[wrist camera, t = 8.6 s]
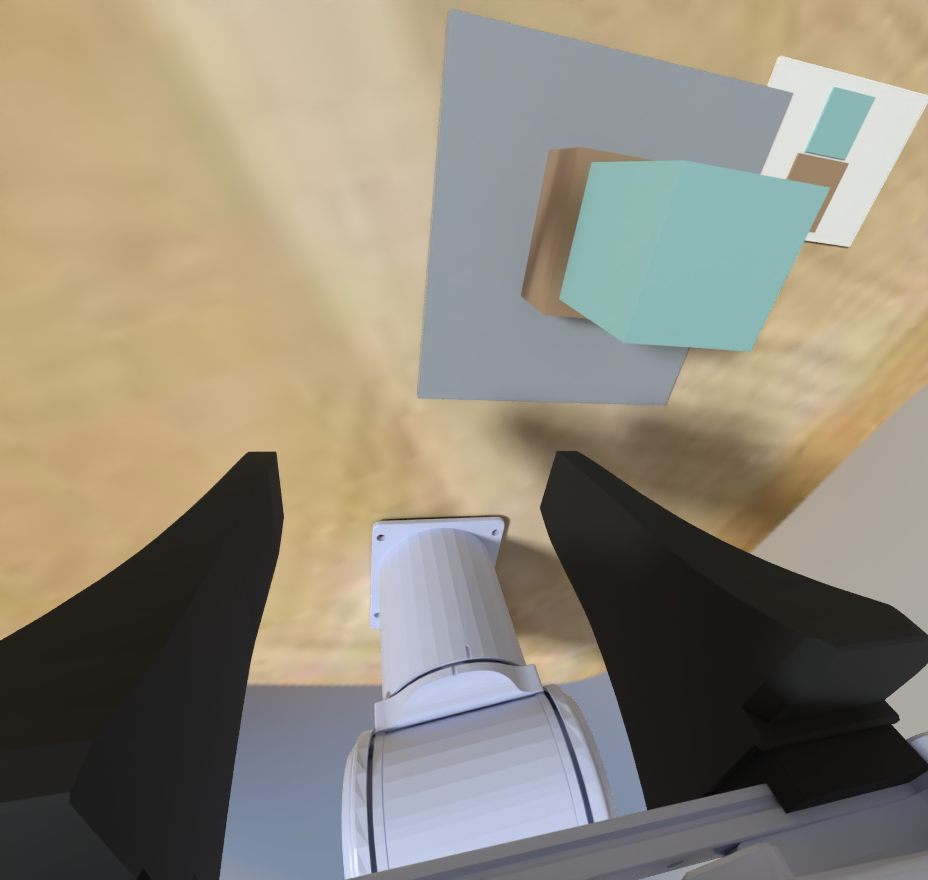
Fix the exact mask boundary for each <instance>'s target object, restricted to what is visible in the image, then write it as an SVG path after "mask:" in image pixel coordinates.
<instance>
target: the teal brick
mask: <svg viewBox="0 0 928 880" xmlns="http://www.w3.org/2000/svg"><path fill="white" fill-rule="evenodd" d="M829 190H830V187H824V186H819V185H814V184H808V183H803V182H797V181H792V180H787V179H781V178H776V177H771V176H765V175H760V174H755V173H749V172H744V171H738V170H733V169H728V168H722V167H717V166H712V165H706V164H701V163H695V162H690V161H685V160H678V161H626V162H592V163H591V167H590V171H589V175H588V180H587V184H586V188H585V192H584V196H583V201H582V205H581V209H580V213H579V218H578V222H577V226H576V230H575V234H574V239H573V243H572V247H571V251H570V256H569V260H568V264H567V268H566V272H565V277H564V281H563V285H562V289H561V293H560V298H559V299H560V300H561V301H563V302H564V303H565V304H567V305H568V306H570V307H571V308H573V309H574V310H576V311H577V312H579V313H580V314H582V315H583V316H585V317H586V318H588V319H589V320H591V321H592V322H594V323H595V324H597V325H598V326H600V327H601V328H603V329H604V330H606V331H607V332H608V333H610V334H611V335H613V336H614V337H616V338H617V339H619V340H620V341H622V342H623V343H632V344H646V345H661V346H676V347H691V348H705V349H720V350H735V351H751V349H752V347H753V345H754V343H755V341H756V339H757V337H758V335H759V333H760V331H761V329H762V327H763V325H764V323H765V321H766V319H767V316H768V314H769V312H770V310H771V308H772V306H773V304H774V302H775V300H776V298H777V296H778V294H779V292H780V290H781V288H782V286H783V284H784V282H785V280H786V278H787V276H788V274H789V271H790V269H791V267H792V265H793V263H794V261H795V259H796V257H797V255H798V253H799V251H800V249H801V247H802V245H803V243H804V241H805V239H806V237H807V235H808V233H809V231H810V229H811V226H812V224H813V222H814V220H815V218H816V216H817V214H818V212H819V210H820V208H821V206H822V204H823V202H824V200H825V198H826V196H827V194H828V192H829Z"/></svg>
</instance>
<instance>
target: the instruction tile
mask: <svg viewBox="0 0 928 880" xmlns="http://www.w3.org/2000/svg"><path fill="white" fill-rule="evenodd" d="M767 87H771V88H775V89H779V90H783V91H788V92H792V93H793V96H792V98H791V101H790V103H789V105H788V108H787V110H786V113H785V115H784V118H783V120H782V122H781V125H780V127H779V130H778V132H777V135H776V137H775V140H774V142H773V144H772V147H771V149H770V152H769V154H768V157H767V159H766V161H765V164H764V166H763V169H762V171H761V174H760V175H765V176H771V177H776V178H781V179H787V180H792V181H797V182H803V183H808V184H814V185H819V186H824V187H830V190H829V192H828V194H827V196H826V198H825V200H824V202H823V204H822V206H821V208H820V210H819V212H818V214H817V216H816V218H815V220H814V222H813V224H812V226H811V229H810V231H809V233H808V235H807V237H806V239H805V240H806V241H813V242H819V243H826V244H833V245H840V246H847V247H850V245H851V244H852V242H853V240H854V238H855V236H856V234H857V232H858V231H859V229H860V227H861V225H862V223H863V221H864V220H865V218H866V216H867V214H868V212H869V210H870V208H871V207H872V205H873V203H874V201H875V199H876V197H877V195H878V194H879V192H880V190H881V188H882V186H883V184H884V183H885V181H886V179H887V177H888V175H889V173H890V171H891V170H892V168H893V166H894V164H895V162H896V160H897V159H898V157H899V155H900V153H901V151H902V149H903V147H904V146H905V144H906V142H907V140H908V138H909V136H910V135H911V133H912V131H913V129H914V127H915V125H916V123H917V122H918V120H919V118H920V116H921V114H922V112H923V111H924V109H925V107H926V105H927V103H928V95H925V94H922V93H918V92H914V91H911V90H907V89H903V88H899V87H896V86H892V85H888V84H884V83H881V82H877V81H873V80H870V79H866V78H862V77H858V76H855V75H851V74H847V73H844V72H840V71H836V70H832V69H829V68H825V67H821V66H818V65H814V64H810V63H806V62H803V61H799V60H795V59H791V58H788V57H784V56H780V57H778V58H777V61H776V64H775V66H774V69H773V72H772V74H771V77H770V79H769V82H768V85H767Z"/></svg>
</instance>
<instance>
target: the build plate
mask: <svg viewBox="0 0 928 880" xmlns="http://www.w3.org/2000/svg"><path fill="white" fill-rule="evenodd" d="M792 96H793V93H792V92H788V91H783V90H779V89H775V88H771V87H767V86H763V85H759V84H755V83H751V82H747V81H743V80H739V79H735V78H731V77H726V76H722V75H718V74H714V73H710V72H706V71H702V70H698V69H694V68H690V67H686V66H682V65H678V64H674V63H669V62H665V61H661V60H657V59H653V58H649V57H645V56H641V55H637V54H633V53H629V52H625V51H621V50H617V49H612V48H608V47H604V46H600V45H596V44H592V43H588V42H584V41H580V40H576V39H572V38H568V37H564V36H560V35H555V34H551V33H547V32H543V31H539V30H535V29H531V28H527V27H523V26H519V25H515V24H511V23H507V22H503V21H499V20H494V19H490V18H486V17H482V16H478V15H474V14H470V13H466V12H462V11H458V10H454V9H449V11H448V18H447V30H446V43H445V55H444V67H443V80H442V92H441V105H440V117H439V129H438V142H437V154H436V166H435V179H434V191H433V204H432V216H431V228H430V241H429V253H428V265H427V278H426V290H425V303H424V315H423V327H422V340H421V352H420V364H419V377H418V389H417V397H418V398H426V399H460V400H493V401H527V402H560V403H594V404H627V405H661V406H665V405H666V402H667V400H668V398H669V395H670V393H671V390H672V388H673V385H674V383H675V381H676V378H677V376H678V373H679V371H680V368H681V366H682V364H683V361H684V359H685V356H686V354H687V351H688V349H689V347H676V346H661V345H646V344H632V343H623V342H622V341H620V340H619V339H617V338H616V337H614V336H613V335H611V334H610V333H608V332H607V331H606V330H604V329H603V328H601V327H600V326H598V325H597V324H595V323H594V322H592V321H591V320H589V319H588V318H575V317H563V316H550V315H543V314H542V313H541V312H540V311H539V310H537V309H536V308H535V307H534V306H532V305H531V304H530V303H529V302H528V301H526V300H525V299H524V298H523V297H521V292H522V287H523V282H524V277H525V271H526V266H527V261H528V256H529V251H530V245H531V240H532V235H533V230H534V224H535V219H536V214H537V209H538V204H539V198H540V193H541V188H542V183H543V177H544V172H545V167H546V162H547V157H548V151H549V150H555V149H566V148H578V147H583V148H589V149H594V150H600V151H605V152H611V153H616V154H622V155H627V156H633V157H638V158H644V159H649V160H655V161H678V160H685V161H690V162H695V163H701V164H706V165H712V166H717V167H722V168H728V169H733V170H738V171H744V172H749V173H755V174H761V171H762V169H763V166H764V164H765V161H766V159H767V157H768V154H769V152H770V149H771V147H772V144H773V142H774V140H775V137H776V135H777V132H778V130H779V127H780V125H781V122H782V120H783V118H784V115H785V113H786V110H787V108H788V105H789V103H790V101H791V98H792Z"/></svg>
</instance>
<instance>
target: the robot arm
mask: <svg viewBox="0 0 928 880" xmlns="http://www.w3.org/2000/svg"><path fill="white" fill-rule="evenodd" d="M540 510H541V513H542V516H543V520H544V523H545V526H546V529H547V532H548V535H549V538H550V541H551V543H552V545H553V547H554V549H555V551H556V553H557V555H558V558H559V560H560V562H561V564H562V566H563V568H564V570H565V572H566V574H567V576H568V578H569V580H570V582H571V584H572V586H573V588H574V590H575V592H576V594H577V596H578V598H579V600H580V602H581V605H582V607H583V609H584V611H585V613H586V615H587V618H588V620H589V622H590V624H591V627H592V630H593V632H594V635H595V638H596V641H597V643H598V646H599V649H600V651H601V654H602V657H603V660H604V662H605V665H606V668H607V671H608V674H609V677H610V680H611V683H612V686H613V689H614V692H615V695H616V698H617V701H618V705H619V708H620V711H621V715H622V718H623V722H624V725H625V728H626V731H627V735H628V738H629V741H630V745H631V749H632V752H633V756H634V760H635V764H636V768H637V771H638V775H639V779H640V783H641V786H642V790H643V794H644V799H645V803H646V807H647V811H643V812H639V813H634V814H630V815H625V816H621V817H617V815H616V810H615V805H614V801H613V796H612V792H611V789H610V785H609V781H608V778H607V775H606V771H605V768H604V765H603V762H602V759H601V756H600V753H599V750H598V748H597V745H596V742H595V740H594V737H593V735H592V732H591V730H590V728H589V726H588V724H587V721H586V719H585V717H584V715H583V713H582V711H581V710H580V708H579V706H578V705H577V703H576V702H575V701H574V699H572V697H570V696H569V695H568V694H566V693H565V692H564V691H562V689H561V688H560V687H558V686H557V685H555V684H551V685H547V686H543V687H542V684H541V681H540V678H539V675H538V673H537V670H536V667H535V665H534V664H531V665H526V663H525V660H524V657H523V654H522V651H521V648H520V645H519V641H518V638H517V635H516V632H515V629H514V626H513V623H512V620H511V617H510V614H509V611H508V608H507V605H506V602H505V599H504V596H503V593H502V590H501V587H500V584H499V581H498V578H497V575H496V571H495V565H496V561H497V556H498V552H499V548H500V544H501V539H502V535H503V531H504V527H505V523H504V521H503V519H502V518H501V517H476V518H449V519H421V520H393V521H378V522H376V523H375V524H374V525H373V528H372V564H371V600H370V626H371V627H372V628H374V629H380V635H381V661H382V687H383V701H380V702H376V703H375V729H372V730H368V731H365V732H363V733H361V734H360V736H359V738H358V739H357V743H356V744H355V746H354V748H353V749H352V751H351V752H350V754H349V756H348V760H347V763H346V768H345V774H344V783H343V796H342V847H343V862H344V873H345V880H639V879H642V878H646V877H650V876H654V875H657V874H661V873H665V872H668V871H672V870H676V869H679V868H683V867H687V866H690V865H694V864H698V863H702V862H705V861H709V860H712V859H716V858H720V857H722V858H720V859H718V860H716V861H713V862H711V863H708V864H706V865H703V866H701V867H699V868H696V869H694V870H691V871H689V872H687V873H686V874H685V876H684V877H683V879H682V880H928V732H924V733H921V734H918V735H915V736H913V737H911V738H909V739H907V740H905V739H904V738H903V737H902V735H901V734H900V733H899V732H898V731H897V730H896V729H895V728H894V727H893V726H892V725H891V724H895V723H897V722H898V721H899V720H900V719H899V715H898V714H897V713H896V712H895V711H894V710H893V709H892V708H891V707H890V706H889V705H888V703H887V702H886V701H885V699H886V698H887V697H889V696H890V695H891V694H892V693H894V692H895V691H896V690H897V689H899V688H900V687H901V686H902V685H904V684H905V683H906V682H907V681H908V680H910V679H911V678H912V677H913V676H915V675H916V674H917V673H918V672H919V671H920V670H921V669H922V668H923V667H925V666H926V664H927V663H928V635H927V634H926V633H925V632H924V631H923V630H921V629H920V628H919V627H918V626H917V625H916V624H914V623H913V622H912V621H911V620H910V619H908V618H907V617H906V616H905V615H904V614H902V613H901V612H900V611H898V610H897V609H895V608H894V607H892V606H891V605H888V604H885V603H882V602H879V601H876V600H873V599H870V598H867V597H863V596H861V595H857V594H854V593H851V592H848V591H845V590H842V589H839V588H836V587H833V586H830V585H827V584H824V583H821V582H819V581H816V580H813V579H811V578H808V577H805V576H803V575H800V574H797V573H795V572H792V571H790V570H787V569H784V568H782V567H780V566H777V565H775V564H772V563H770V562H767V561H765V560H763V559H761V558H759V557H756V556H754V555H752V554H750V553H747V552H745V551H743V550H741V549H739V548H736V547H734V546H732V545H730V544H728V543H726V542H724V541H722V540H720V539H718V538H716V537H714V536H712V535H710V534H708V533H707V532H705V531H703V530H701V529H699V528H697V527H695V526H693V525H692V524H690V523H688V522H686V521H685V520H683V519H681V518H679V517H678V516H676V515H674V514H673V513H671V512H669V511H668V510H666V509H665V508H663V507H661V506H660V505H658V504H656V503H655V502H653V501H652V500H650V499H649V498H647V497H646V496H644V495H643V494H641V493H640V492H638V491H637V490H635V489H634V488H632V487H631V486H629V485H628V484H626V483H625V482H623V481H622V480H620V479H619V478H617V477H616V476H615V475H613V474H612V473H610V472H609V471H607V470H606V469H604V468H603V467H601V466H600V465H598V464H597V463H595V462H594V461H592V460H591V459H589V458H588V457H586V456H584V455H583V454H581V453H579V452H577V451H557V452H556V455H555V459H554V462H553V465H552V469H551V472H550V475H549V479H548V482H547V485H546V489H545V492H544V496H543V499H542V502H541V506H540ZM283 520H284V513H283V505H282V496H281V488H280V479H279V470H278V462H277V453H276V452H248V453H246V454H245V455H244V456H243V457H242V458H241V459H240V460H239V461H238V462H237V463H236V464H235V465H234V466H233V467H232V468H231V469H230V470H229V471H228V472H227V473H226V474H225V475H224V476H223V477H222V478H221V479H220V480H219V481H218V482H217V483H216V484H215V485H214V486H213V487H212V488H211V489H210V490H209V491H208V492H207V493H206V494H205V495H204V496H203V497H202V498H201V499H200V500H199V501H198V502H197V503H196V504H194V505H193V506H192V507H191V508H190V509H189V510H188V511H187V512H186V513H185V514H184V515H182V516H181V517H180V518H179V519H178V520H177V521H175V522H174V523H173V524H172V525H171V526H170V527H168V528H167V529H166V530H165V531H164V532H163V533H161V534H160V535H159V536H158V537H157V538H156V539H154V540H153V541H152V542H151V543H149V544H148V545H147V546H146V547H144V548H143V549H142V550H140V551H139V552H138V553H137V554H135V555H134V556H132V557H131V558H130V559H128V560H127V561H125V562H124V563H123V564H121V565H120V566H119V567H117V568H116V569H114V570H113V571H112V572H110V573H109V574H107V575H106V576H104V577H103V578H101V579H100V580H98V581H97V582H95V583H94V584H92V585H91V586H89V587H87V588H86V589H84V590H83V591H81V592H80V593H78V594H76V595H75V596H73V597H72V598H70V599H69V600H67V601H66V602H64V603H62V604H61V605H59V606H58V607H56V608H55V609H53V610H51V611H50V612H48V613H47V614H45V615H43V616H42V617H40V618H38V619H37V620H35V621H33V622H32V623H30V624H28V625H26V626H25V627H23V628H21V629H20V630H18V631H16V632H14V633H13V634H11V635H9V636H7V637H6V638H4V639H2V640H0V880H219V877H220V869H221V861H222V853H223V845H224V837H225V829H226V821H227V813H228V806H229V799H230V792H231V784H232V778H233V770H234V763H235V756H236V750H237V743H238V736H239V730H240V724H241V717H242V710H243V704H244V698H245V692H246V686H247V680H248V674H249V668H250V663H251V658H252V653H253V649H254V645H255V640H256V637H257V633H258V629H259V626H260V622H261V618H262V615H263V611H264V607H265V604H266V600H267V596H268V593H269V589H270V585H271V582H272V578H273V574H274V571H275V567H276V563H277V559H278V555H279V549H280V542H281V535H282V528H283ZM494 530H496V531H494ZM493 531H494V532H493ZM378 535H384V536H378Z"/></svg>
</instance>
